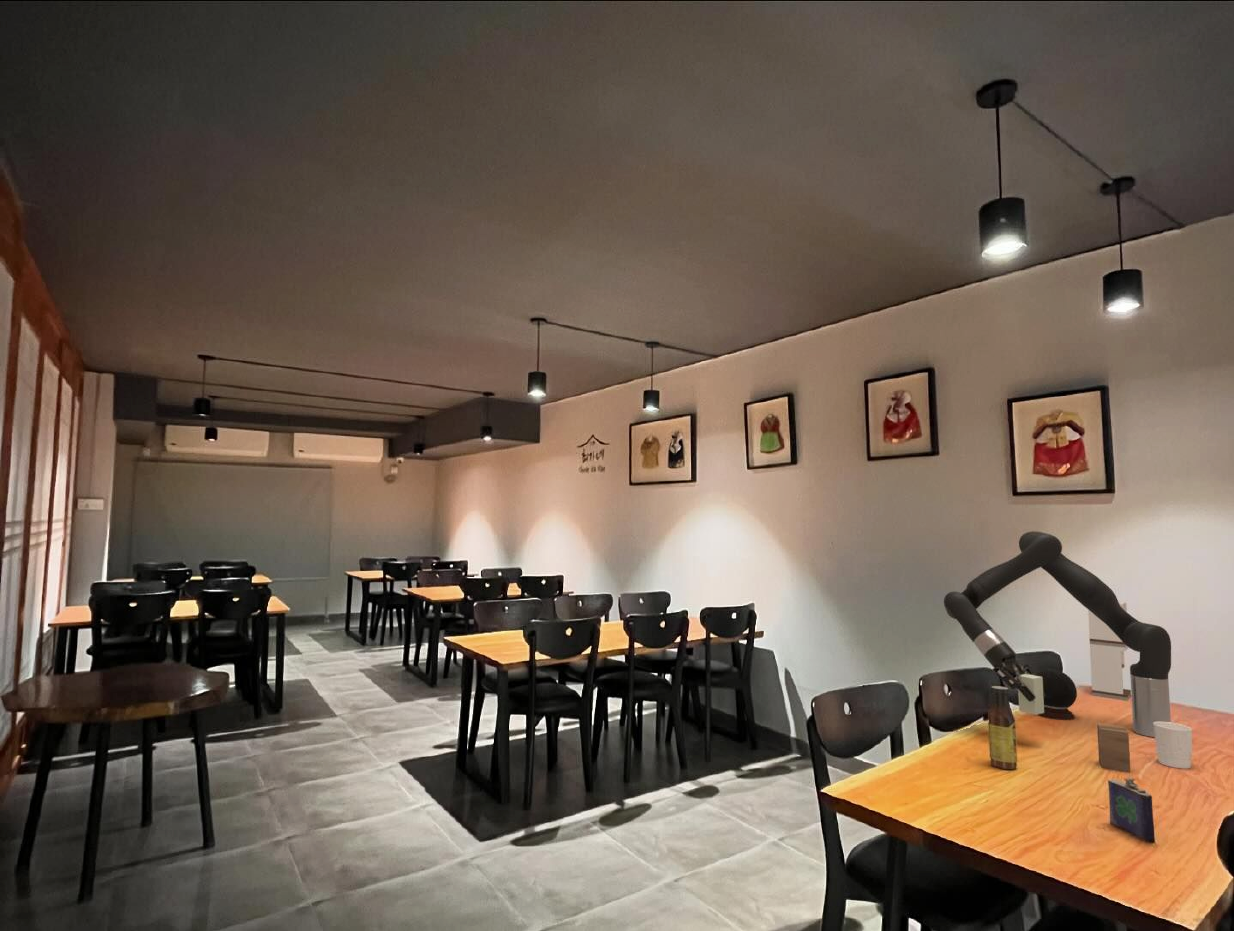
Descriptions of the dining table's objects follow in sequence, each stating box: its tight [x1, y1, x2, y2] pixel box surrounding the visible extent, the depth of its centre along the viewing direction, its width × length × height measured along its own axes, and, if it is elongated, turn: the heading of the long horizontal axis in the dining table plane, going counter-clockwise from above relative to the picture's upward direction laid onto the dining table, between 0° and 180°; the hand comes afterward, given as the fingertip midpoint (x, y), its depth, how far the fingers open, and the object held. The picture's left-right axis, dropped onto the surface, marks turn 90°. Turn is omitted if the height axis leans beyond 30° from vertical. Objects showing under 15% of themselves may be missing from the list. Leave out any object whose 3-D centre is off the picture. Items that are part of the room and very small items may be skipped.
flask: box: [1107, 777, 1156, 844], centre depth 136 cm, size 9×3×11 cm, turn 8°
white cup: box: [1153, 722, 1193, 770], centre depth 177 cm, size 8×8×10 cm
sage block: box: [1017, 674, 1044, 716], centre depth 191 cm, size 4×4×10 cm
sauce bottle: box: [987, 685, 1018, 770], centre depth 174 cm, size 7×6×20 cm
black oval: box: [1034, 668, 1078, 721], centre depth 223 cm, size 13×13×15 cm
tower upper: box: [1096, 722, 1130, 753], centre depth 174 cm, size 6×6×5 cm
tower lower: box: [1097, 743, 1132, 774], centre depth 174 cm, size 6×6×5 cm
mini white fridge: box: [1087, 601, 1131, 702], centre depth 254 cm, size 11×11×35 cm
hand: (1037, 698), depth 189 cm, fingers closed on sage block, 4 cm apart
